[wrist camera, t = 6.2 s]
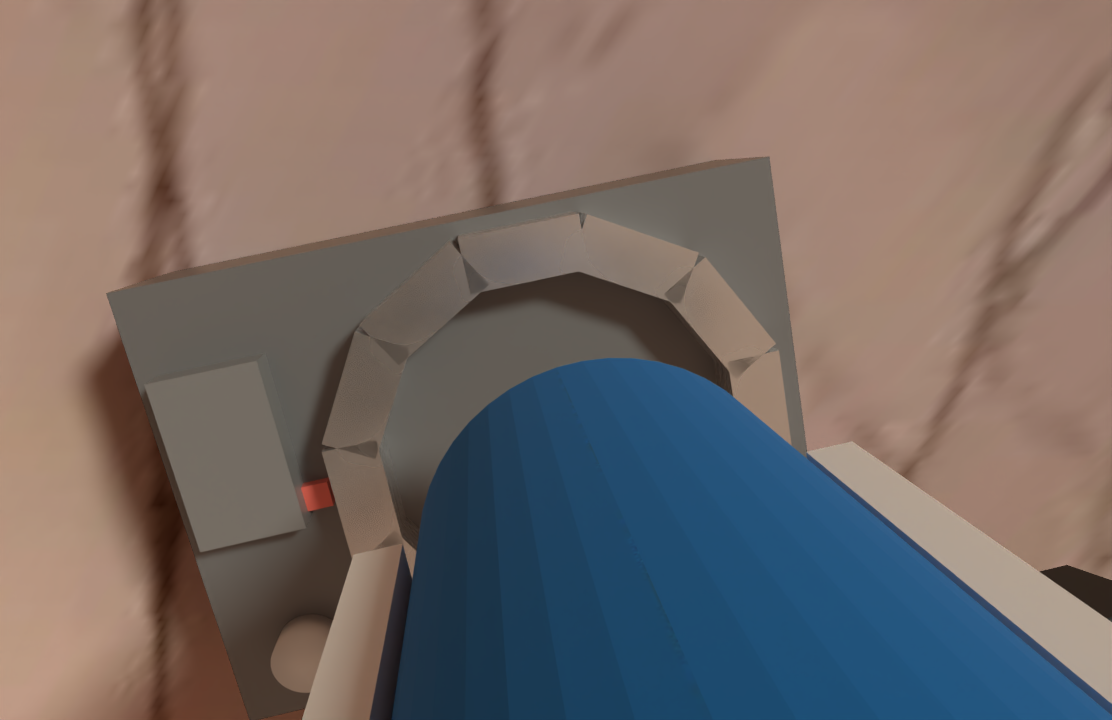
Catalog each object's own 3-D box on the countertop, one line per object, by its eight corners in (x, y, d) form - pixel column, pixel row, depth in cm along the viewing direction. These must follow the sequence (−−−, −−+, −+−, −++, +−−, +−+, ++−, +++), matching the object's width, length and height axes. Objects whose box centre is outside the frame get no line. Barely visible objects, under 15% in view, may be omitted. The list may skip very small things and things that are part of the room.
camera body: (284, 633, 24) (241, 743, 19) (171, 272, 21) (89, 298, 17) (767, 519, 25) (837, 598, 20) (716, 160, 22) (782, 155, 18)
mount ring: (397, 674, 20) (393, 705, 19) (284, 270, 18) (271, 277, 17) (793, 579, 21) (813, 603, 20) (737, 176, 18) (755, 176, 17)
